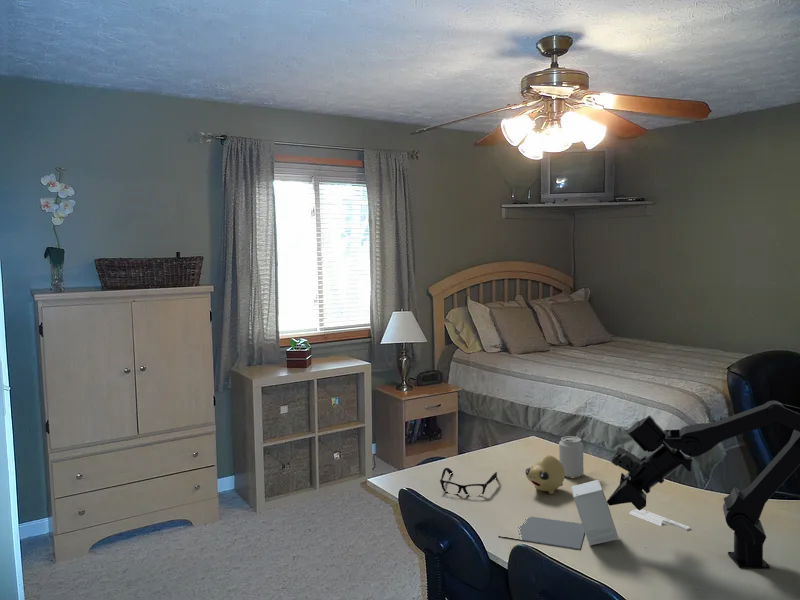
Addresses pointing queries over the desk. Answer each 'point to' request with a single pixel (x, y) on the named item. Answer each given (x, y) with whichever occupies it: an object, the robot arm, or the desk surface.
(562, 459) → the can
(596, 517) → the supplement box
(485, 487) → the glasses
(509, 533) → the desk surface
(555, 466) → the beige rounded figure
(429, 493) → the desk surface
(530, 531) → the mat
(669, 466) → the robot arm
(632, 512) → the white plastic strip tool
